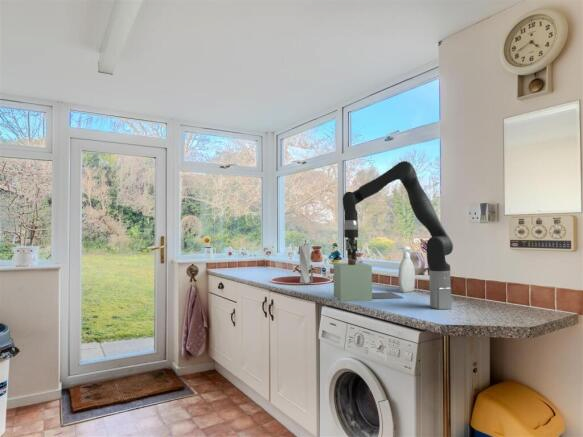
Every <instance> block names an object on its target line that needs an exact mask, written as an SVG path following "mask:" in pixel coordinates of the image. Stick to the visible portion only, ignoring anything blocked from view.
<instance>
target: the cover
mask: <svg viewBox="0 0 583 437" xmlns="http://www.w3.org/2000/svg"><path fill="white" fill-rule="evenodd" d="M356 259H357V258H356ZM356 259H351V255H348V258H347V262H346V263H333V297H334V298H336V297H337V298H338V299H339V300H338V299H337V298H336V299H337V300H338V301H340V302H357V301H358V302H359V301H360V302H363V301H364V302H366V301H373V299H372V293H373V275H372V274H373V272H372V270H373V269H372V268H373V266H372V265H371V264H367V263H363V262H357V261H356Z"/></svg>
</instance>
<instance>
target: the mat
mask: <svg viewBox="0 0 583 437" xmlns="http://www.w3.org/2000/svg"><path fill="white" fill-rule="evenodd" d="M386 299H387V300H389V299H393V300H395V299H404V296H401V295H398V294H396V293H394V292H390V291H389V292H388V291H385V292H383V291H382V292H372V300H386Z"/></svg>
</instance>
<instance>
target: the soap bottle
mask: <svg viewBox="0 0 583 437" xmlns="http://www.w3.org/2000/svg"><path fill="white" fill-rule="evenodd" d="M398 249H399V250H405V252H403V255H402V260H401V261H400V264H399V268H398V277H397V278H398V279H397V280H398V288H399V291H400V292H401V293H403V294H404V293H405V294H407V293H408V294H409V293H412V292H413V291H414V289H415V285H416V271H415V266H414V263H413V261H412V259H411V257H410V253H409V252H408V250H411V249H412V248H411V246H409V245H405V246H403V247H398Z"/></svg>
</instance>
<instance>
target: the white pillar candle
mask: <svg viewBox="0 0 583 437" xmlns="http://www.w3.org/2000/svg"><path fill="white" fill-rule="evenodd" d="M310 263H311V252H310V246H309V245H308V244H307V243H304V242H301V243H300V248H299V266H300V269H301V270H300V280H299V283H300V284H303V285H304V284H305V285H309V284H313V283H314V276H313V274H314V271H313V266H311V267H310V265H311V264H310ZM309 268H310V269H311V270H310V273H309Z"/></svg>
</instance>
